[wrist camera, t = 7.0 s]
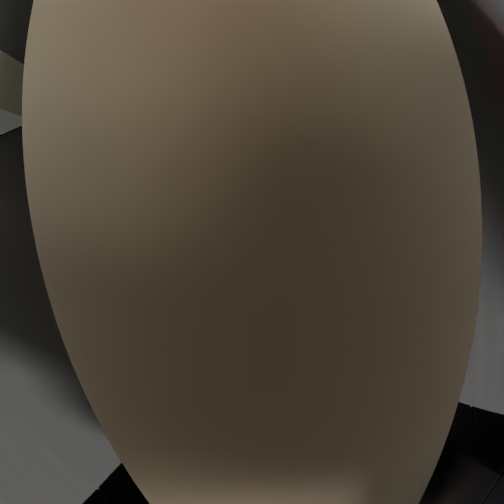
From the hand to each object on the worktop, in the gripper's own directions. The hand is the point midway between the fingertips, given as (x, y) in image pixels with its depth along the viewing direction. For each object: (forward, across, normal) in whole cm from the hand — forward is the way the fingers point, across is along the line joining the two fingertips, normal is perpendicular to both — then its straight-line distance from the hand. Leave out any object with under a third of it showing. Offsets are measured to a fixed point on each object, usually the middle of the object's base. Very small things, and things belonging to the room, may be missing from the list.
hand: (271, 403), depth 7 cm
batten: (+1, 0, -8) cm, 8 cm away
